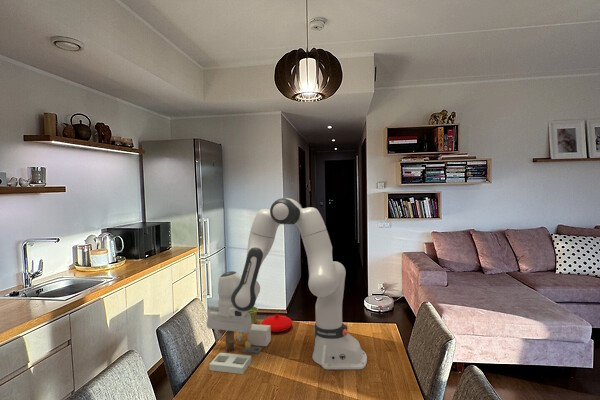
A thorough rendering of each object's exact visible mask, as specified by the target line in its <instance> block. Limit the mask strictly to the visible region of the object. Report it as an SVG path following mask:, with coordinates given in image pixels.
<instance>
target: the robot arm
mask: <svg viewBox="0 0 600 400" xmlns="http://www.w3.org/2000/svg"><path fill="white" fill-rule="evenodd" d="M281 225H295V226H297V228H298V230H299V233H300V236H301V239H302V243H303V246H304V250H305V253H306V257H307V265H308V266H307V267H308V283H307V285H308V288H309V291H310V292H311V294H312V295H313V296H315V297H317V298H316V302H315V322H314V323H315V324H314V326H313V327H314V329H313V330H314V338H315V340H314V348H313V353H312V356H311V357H312V358H311V359H312V360H313V361H314V362H315V363H316V364H318V365H320V366H321V367H322V368H323V369H324V370H363V369H364V368H365V367H366V366H367V363H368V356H367V354H366V352H365V351H364V350H363V349H362V347H361V344H360V342H359V340H358V339H356V338H355V337H354V336H352V335H351V334H350V333H349V331H348V325H347V323H345V324H344V322H343V300H344V294H345V293H344V291H345V281H346V275H347V274H346V273H347V272H346V271H347V270H346V268H345V266H344V264H342V263H341V262H339V261H333V245H332V242H331V239H330V235H329V232H328V230H327V226H326V224H325V221H324V219H323V217H322V215H321V213H320V211H319V210H318V209H317V208H316V207H312V206H311V207H304V208H303V206H302V204H301V203H300V202H299V201H298V200H296V199H293V198H289V197H285V198H284V197H283V198H278V199H276V200H275V201H273V203H272V204H271V206H270V208H262V209H259V210H258V211H257V213H256V215H255V217H254V219H253V222H252V225H251V227H250V231H249V237H248V242H247V249H246V251H247V252H246V259H245V263H244V267H243V270H242V274H241V275H240V274H239V273H238V272H236V271H228V272H227V271H226V272H224V273H223V274H221V275H220V276H219V278H218V283H217V284H218V286H217V287H218V288H217V290H218V291H217V293H218V302H217V303H218V305H217V307H213V306H211V307H209V308H208V309H207V313H206V314H207V319H206V327H207V329H209V330H214V333H215V334H216V338H217V340H221V339H222V336H223V334H222V333H221V332H220V331H234V332H237V333H238V334H239V335H238V336H237V337H236V342H241V341H242V336H243V334H244V333H247V334H248V332H249V331H250V329H251V328H252V322H251V316H250V314H249V313H248V312H249V310H250V309H252V308H253V307H255V305H256V302H257V299H258V297H259V294H260V292H261V286H260V285H261V284H260V283H259V282H258V281H257V280H258V277H259V272H260V269H261V267H262V264H263V262H264V261H265V259H266V258H267V256H268V255H269V253H270V252H271V250H272V247H273V245H274V242H275V238H276V235H277V231H278V228H279V226H281Z"/></svg>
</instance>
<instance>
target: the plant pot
mask: <svg viewBox="0 0 600 400" xmlns="http://www.w3.org/2000/svg"><path fill="white" fill-rule="evenodd" d="M258 310H259V308H258V307H257V306H253V308H252V309H250V310H249V312H248V313H249V314H250V316H251V322H252V324H256V321H257V314H258Z"/></svg>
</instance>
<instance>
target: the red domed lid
mask: <svg viewBox="0 0 600 400" xmlns="http://www.w3.org/2000/svg"><path fill="white" fill-rule="evenodd" d="M260 325H270V326H271V333H272V332H273V333H279V332H283V331H286V330H289V329H290V328H291V327H292V326H293V320H292V319H291V318H290V317H288V316H285V315H280V314H278V313H275V314H274V315H272V316H268V317H266V318H264V319H263V320H262V321H261V324H260Z"/></svg>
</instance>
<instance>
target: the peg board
mask: <svg viewBox="0 0 600 400" xmlns="http://www.w3.org/2000/svg"><path fill="white" fill-rule="evenodd" d="M251 363H252V355H248V354H237V353H230V352H227V353H226V352H219V353H218V354H217V355H216V356H215V357H214V359H212V360H211V362H210V363H209V364H208V365H209V371H212V372H213V371H215V372H219V373H220V372H222V373H230V374H238V375H244V373H245V372H246V371H247V369H248V368H249V366H250V364H251Z"/></svg>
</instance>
